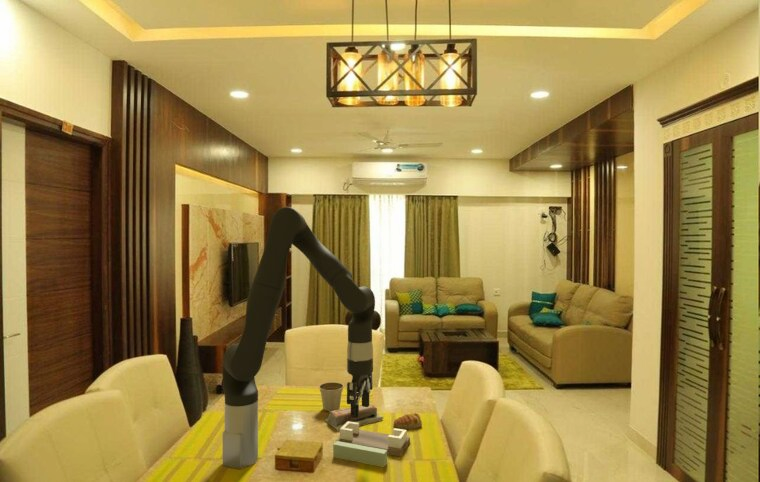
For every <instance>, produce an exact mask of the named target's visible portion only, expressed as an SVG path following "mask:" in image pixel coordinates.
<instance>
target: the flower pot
mask: <svg viewBox="0 0 760 482" xmlns="http://www.w3.org/2000/svg"><path fill="white" fill-rule="evenodd" d="M344 387H345V385H344V383H341V382H337V381H331V382H330V381H329V382H324V383H321V384H319V385H318V389H319V391H320V395H321V402H322V408H323V409H322V410H324V411H325V412H326V411H327V412H329V413H330V412H331V411H335V410H339V409H341V400H342V392H343V389H344Z"/></svg>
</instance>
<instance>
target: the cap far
mask: <svg viewBox="0 0 760 482" xmlns="http://www.w3.org/2000/svg"><path fill="white" fill-rule="evenodd" d="M359 430H360V426H359V423H356V422H350V421H348V422H347V423H346V424H344V425H343V426H342V427H341V428H340V431H339V437H340V439H346V440H352V439H353V433H357V434H358V433H359Z"/></svg>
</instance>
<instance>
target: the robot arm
mask: <svg viewBox="0 0 760 482" xmlns="http://www.w3.org/2000/svg"><path fill="white" fill-rule="evenodd" d="M270 220H271V221H270V225H269V229H268V234H267V238H266V242H265V245H264V246H265V247H264V249H263V253H262V255H261V258H260V260H259V263H258V266H257V270H256V272H255V275H254V278H253V280H252V284H251V285H250V289H249V292H248V295H247V300H246V307H245V308H246V309H245V321H244V322H245V323H244V327H243V332H242V334H241V337H240V340H239V342H238V343H234V344H231V345H230V346H229V347H228V348H227V349H226V351H225V352H224V354H223V357H222V366H221V368H222V390H223V391H222V392H223V395H224V431H223V432H222V466H224V467H228V468H232V469H237V470H241V469H243V468H245V467H248V466H251V465H253V464H255V463H256V462H258V460H259V390H258V387H257V384H256V380H255V379H256V378H255V377H256V376H257V374H258V373H259V371H261V366H262V364H263V360H264V355H265V350H266V345H267V342H268V337H269V333H270V330H271V328H272V325H273V322H274V319H275V316H276V314H277V310H278V308H279V305H280V302H281V300H282V296H283V292H284V290H285V285H286V281H287V280H286V279H287V266H288V265H287V263H288V256H289V253H290V250H291V247H292V245H293V246H294V247H295V248H297V249H298V250H299V251H300V252H301V253H302V255H304V256H305V257H306V258H307V260H308V261H309V262H310V263H311V265H312V267H313V268H314V269H315V270H316V272H318V274H319V276H320V277H322V279H323V280H324V281H325V282H326V283H327V284H328V285H329V286H330V287H331V288H332V289H333V291H334V292H335V294H336V296H337V298H338V299H339V301H340V303H341V304H342V305H343V307H345V309H346V310H348V311H349V312H351V313H352V314H351V319H350V321H349V322H348V324H347V347H346V348H347V349H346V365H347V366H346V369H347V370H346V371H347V373H348V374H349V375H351V376H352V377H351V382H350V381H349V382H347V384H346V404H347V405H350V407H351V417H352V418H358V417H359V406H360V400H361V405H362V406H363V407H368V406H369V404H370V394H371V391H372V390H373V388H374V387H373V371H374V346H373V320H374V316H375V315H374V314H375V309H376V297H375V294H374V292H373V290H372V289H371V288H369V287H368V286H363V285H362V286H358V285H357V284H356V283H355V281H354V280H353V275H352V273H351V271H350V270H349V269H348V267H346V266H345V265H344V264H343V263H342V262H341V260H340V259H339V258H338V257H336V256H335V254H333V253H332V251H331V250H329V249H328V248H327V247H325V246H324V244H322V243H321V241H320V240H319V238H318V237H317V236H316V235H315V234H314V232H313V231H312V229H311V228H310V226H309V225H308V223H307V221H306V220H305V218H304V217H303V215H302V214H301V213H300V212H299V211H298V210H297V209H295V208H293V207H291V206H283V207H280V208H278V210H277V211H275V213H274V214H273V215H272V218H271V219H270Z"/></svg>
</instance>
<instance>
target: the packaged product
mask: <svg viewBox="0 0 760 482" xmlns="http://www.w3.org/2000/svg"><path fill="white" fill-rule="evenodd" d="M377 412H378V408H377V407H376V406H375V405H374V404H370V403H369V406H368V407H363V406H362V404H361V405H360V404H359V417H358V418H352V417H351V406H350V407H345V408H340V409H338V410H335V411H331V412H329V415H328V417H327V418H325V419H324V420H325V422H326V423H327V424H328V425H330V426H331V427H332V428H333V429H334V430H336V431H337V432H340V428H341V427H342V426H343V425H344V424H346V423H347V422H348V421H350V422H356V423H359V427H360V426H365V425H369V424H372V422H373V423H376V421H377V422H380V420H381V421H383V420H384V419H383V418H384V416H383V415H381V414H379V413H377ZM368 423H369V424H368Z"/></svg>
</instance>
